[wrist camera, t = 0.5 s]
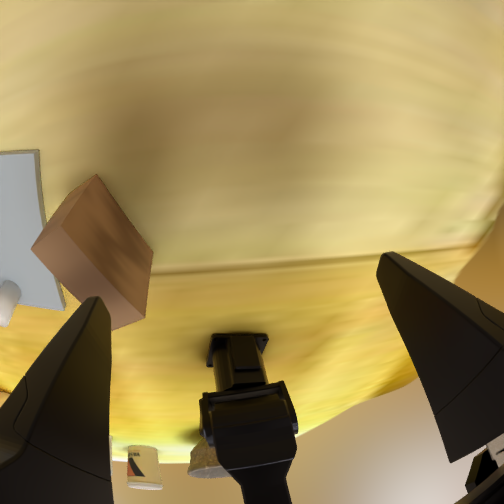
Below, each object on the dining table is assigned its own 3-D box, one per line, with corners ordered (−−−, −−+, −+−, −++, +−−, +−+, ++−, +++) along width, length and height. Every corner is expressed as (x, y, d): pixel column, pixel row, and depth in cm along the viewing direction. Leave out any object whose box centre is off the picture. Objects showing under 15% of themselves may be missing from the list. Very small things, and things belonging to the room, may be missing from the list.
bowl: (218, 447, 62) (224, 480, 54) (163, 432, 50) (166, 474, 42) (289, 426, 58) (299, 462, 50) (245, 409, 46) (255, 458, 38)
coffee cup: (136, 442, 54) (138, 485, 44) (166, 449, 59) (170, 489, 50) (119, 447, 56) (121, 486, 47) (148, 453, 62) (151, 490, 52)
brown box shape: (153, 252, 23) (145, 317, 17) (125, 266, 23) (111, 331, 17) (96, 173, 18) (60, 225, 12) (68, 194, 18) (29, 249, 12)
